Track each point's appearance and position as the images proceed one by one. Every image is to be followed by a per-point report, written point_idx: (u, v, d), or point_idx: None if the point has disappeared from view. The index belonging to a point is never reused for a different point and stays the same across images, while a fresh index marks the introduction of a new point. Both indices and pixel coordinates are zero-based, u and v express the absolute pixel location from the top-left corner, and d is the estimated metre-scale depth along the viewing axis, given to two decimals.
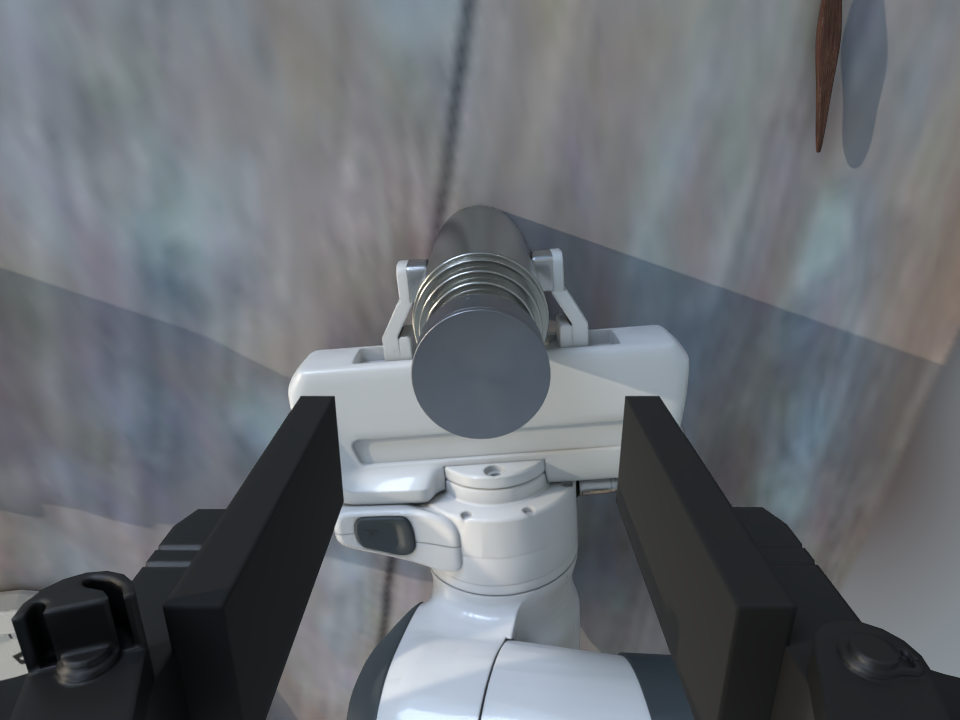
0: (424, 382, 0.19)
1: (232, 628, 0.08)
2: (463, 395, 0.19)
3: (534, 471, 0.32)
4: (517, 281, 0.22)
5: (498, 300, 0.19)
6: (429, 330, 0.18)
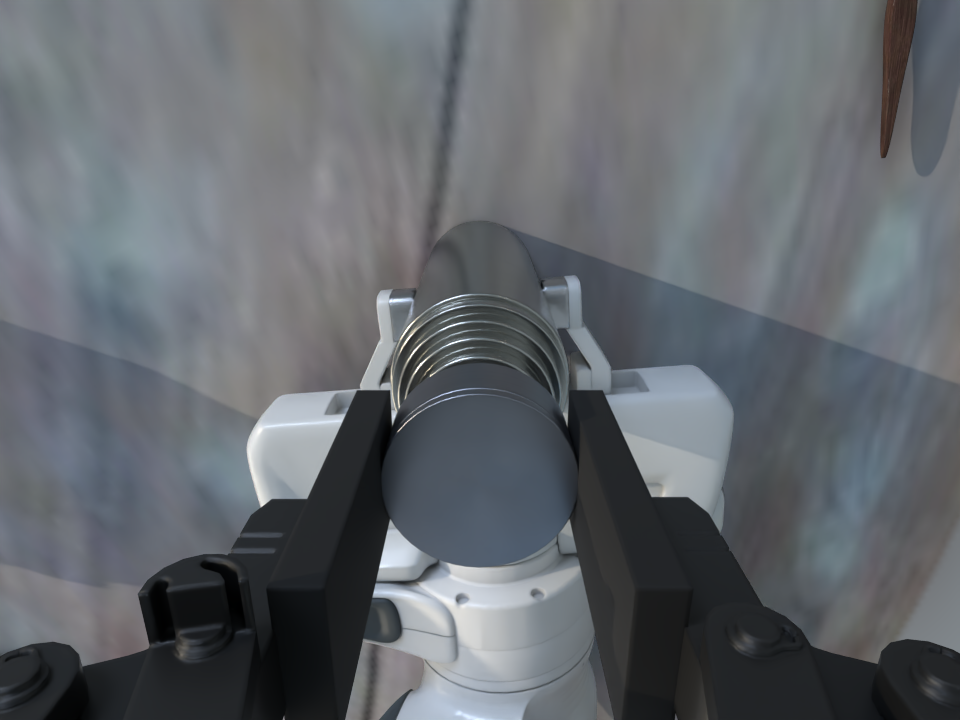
0: (399, 493, 0.13)
1: (329, 610, 0.09)
2: (455, 510, 0.13)
3: None
4: (529, 334, 0.17)
5: (504, 374, 0.14)
6: (405, 422, 0.13)
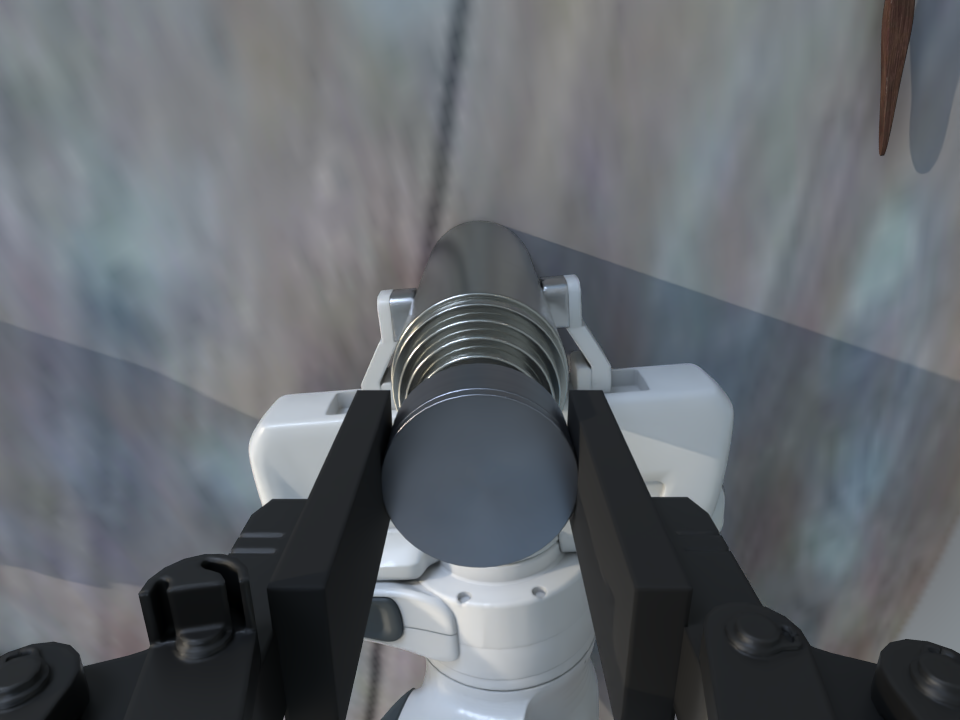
0: (511, 548, 0.14)
1: (330, 610, 0.09)
2: (514, 498, 0.13)
3: None
4: (528, 333, 0.17)
5: None
6: (438, 559, 0.14)
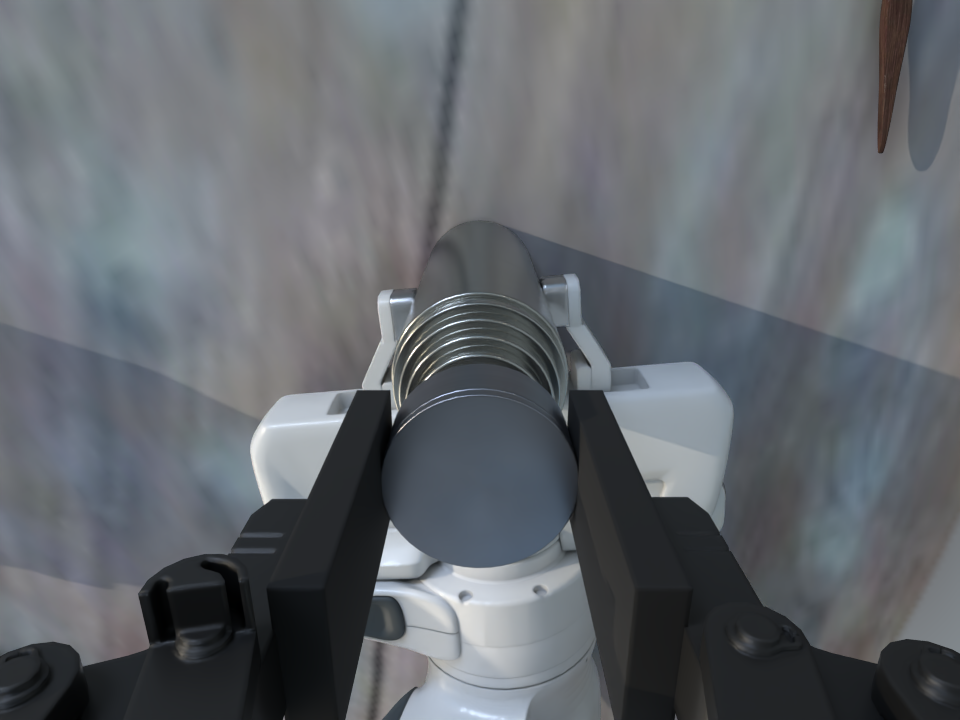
0: (541, 438, 0.13)
1: (329, 610, 0.09)
2: (482, 452, 0.13)
3: None
4: (528, 332, 0.17)
5: None
6: None
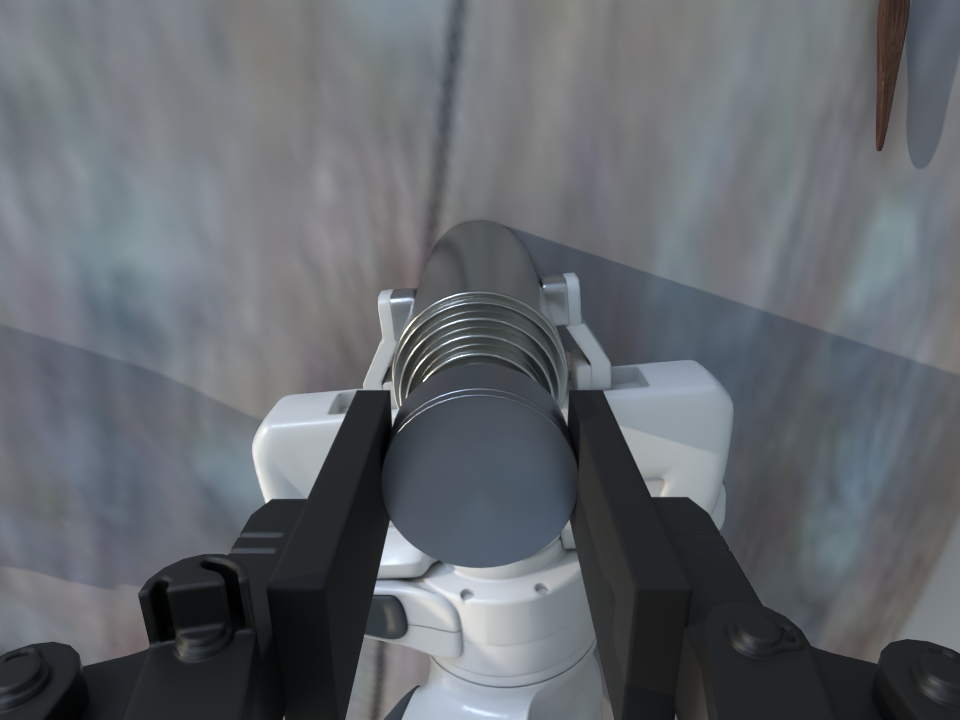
0: (407, 451, 0.13)
1: (329, 610, 0.09)
2: (443, 494, 0.13)
3: None
4: (527, 331, 0.17)
5: (551, 403, 0.14)
6: (460, 396, 0.12)
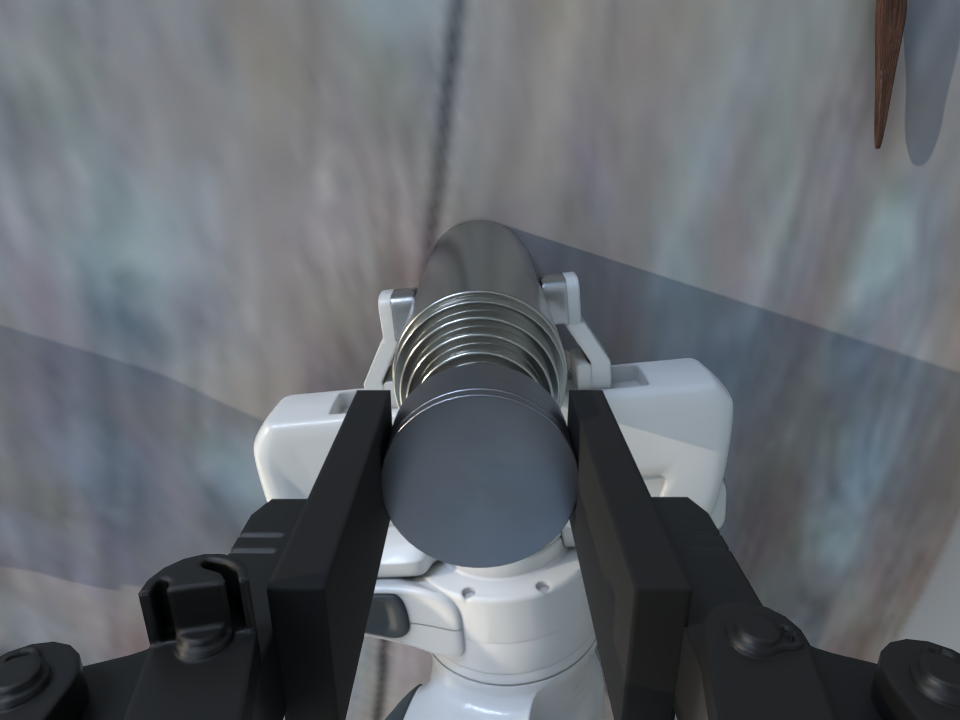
0: (464, 552, 0.14)
1: (329, 610, 0.09)
2: (499, 513, 0.13)
3: None
4: (526, 329, 0.17)
5: (401, 411, 0.14)
6: (395, 525, 0.13)
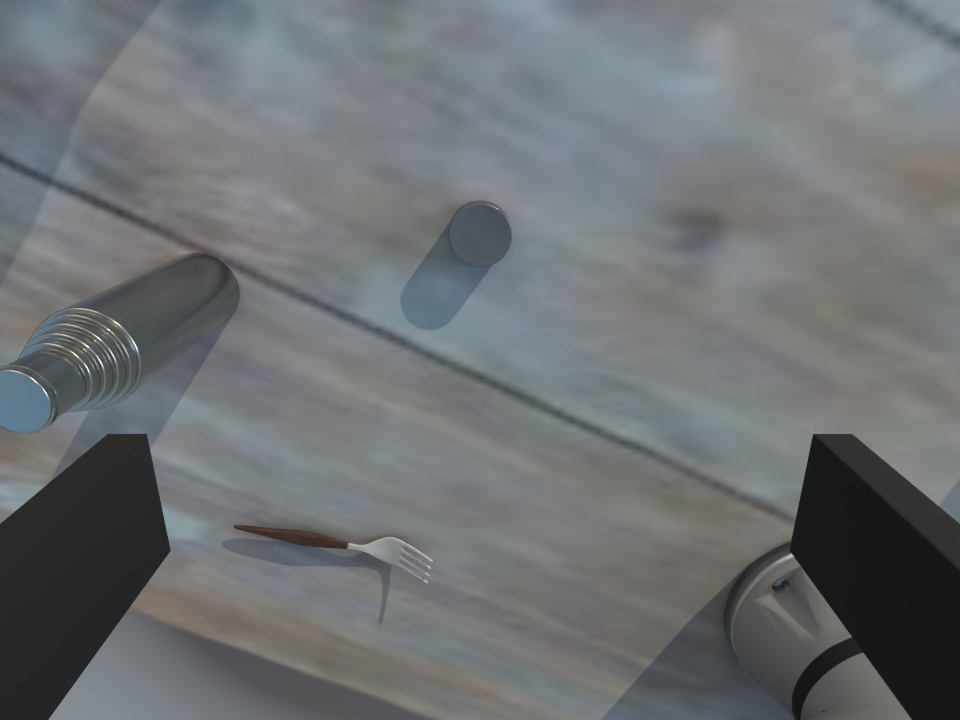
0: (475, 260, 0.42)
1: None
2: (486, 245, 0.42)
3: None
4: (108, 401, 0.31)
5: (454, 216, 0.42)
6: (453, 250, 0.42)
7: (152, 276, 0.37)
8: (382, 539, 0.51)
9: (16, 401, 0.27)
